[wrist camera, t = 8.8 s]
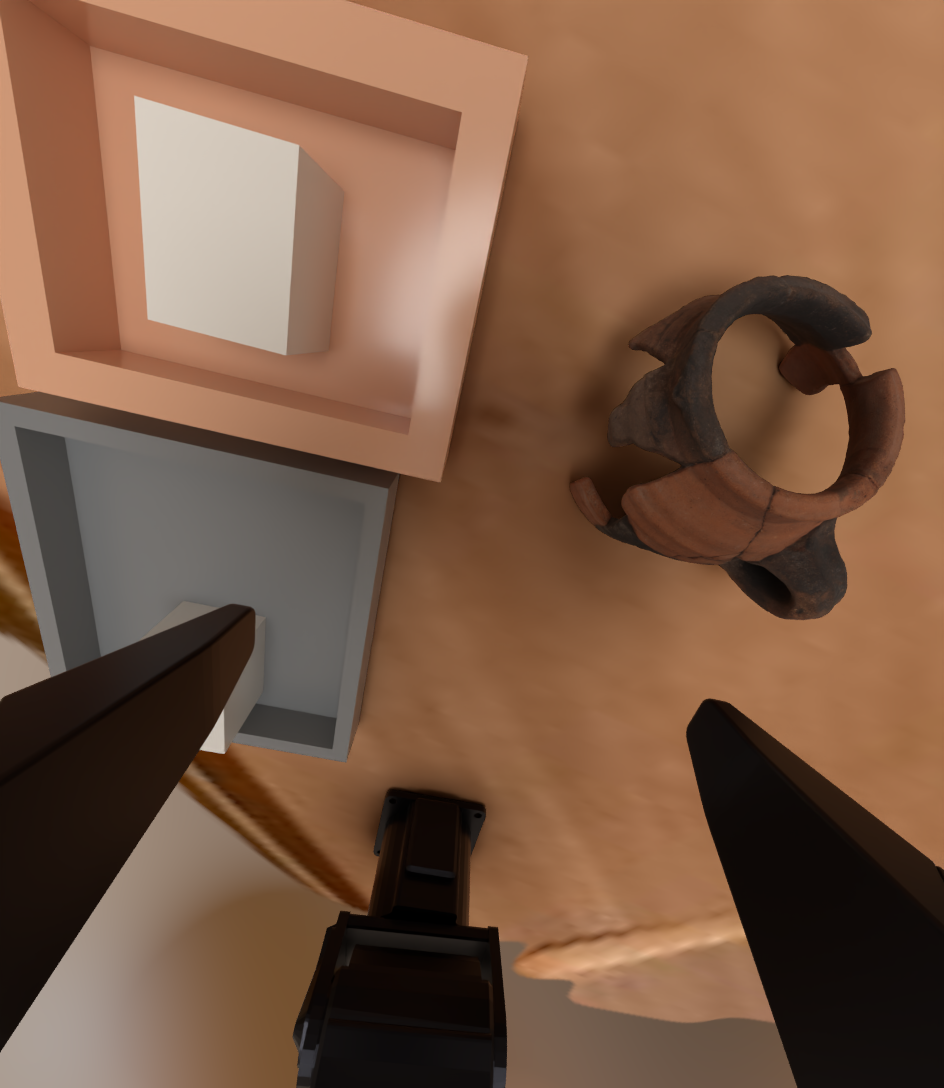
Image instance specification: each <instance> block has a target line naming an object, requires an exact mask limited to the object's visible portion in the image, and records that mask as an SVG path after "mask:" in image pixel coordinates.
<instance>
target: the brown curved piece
mask: <svg viewBox="0 0 944 1088" xmlns="http://www.w3.org/2000/svg"><path fill="white" fill-rule="evenodd" d="M749 314H762V315H764V316H767V317H768V318H769V319H771V320H772V321H774V322H775V323H776V324H777V325H778V326H779V327H780V328H781V329H782V331H783V332H784V333H786V334H787V336H788V337H789V339H790V340H791V341H792V342H793V343H794V344H795V345H794V346H793V347H792V348H791V349H790V350H789V352H788V353H787V355H786V357H785V358H784V360H783V361H782V362H781V364H780V366H779V370H780V371H781V373H782V375H783V376H784V377H785V378H786V379H787V380H788V381H789V383H790V384H792V385H793V386H795V387H796V388H797V389H798V390H799V391H801V392H802V393H804V394H806V395H813V394H817V393H819V392H821V391H822V390H824V389H825V388H826V387H827V386H828V385H834V384H839V385H840V389H841V391H842V394H843V396H844V400H845V404H846V409H847V414H848V423H849V442H848V448H847V452H846V458H845V462H844V465H843V469H842V471H841V474H840V476H839V477H838V479H837V481H836V482H835V483H834V484H833V485H831V486H830V487H829V488H827V489H826V490H824V491H822V492H819V493H815V494H801V493H794V492H790V491H787V490H784V489H781V488H779V487H776V486H772V485H771V484H770V483H769V482H767V481H766V480H764V479H762V478H761V477H759V476H758V475H757V474H756V473H755V472H753V471H752V470H751V469H750V468H749V467H748V466H747V465H746V464H745V463H744V462H743V461H742V460H741V459H740V458H739V456H738V455H737V454H736V453H735V452H734V451H733V450H731V449H730V448H729V446H728V444H727V440H726V438H725V436H724V433H723V431H722V429H721V427H720V424H719V421H718V419H717V416H716V413H715V410H714V405H713V399H712V378H711V375H712V366H713V359H714V355H715V353H716V348H717V343H718V341H719V340H720V339H721V337H722V336H723V334H724V332H725V331H726V329H727V328H728V327H729V326H730V325H731V324H732V323H733V322H734V321H735V320H736V319H738V318H740V317H742V316H745V315H749ZM871 335H872V331H871V329H870V323H869V318H868V316H867V314H866V313H865V311H863V310H862V309H861V308H860V307H858V306H857V305H856V303H855V302H853V301H852V300H850V299H849V298H848V297H847V296H846V295H844V294H841V293H839V292H838V291H837V290H835V289H833V288H832V287H830V286H828V285H826V284H823V283H821V282H818V281H816V280H812V279H810V278H808V277H800V276H789V275H786V276H781V277H780V278H779V277H777V276H767V277H756V278H753V279H752V280H750V281H747V282H743V283H741V284H739V285H736V286H734V287H732V288H731V289H729V290H727V291H726V292H724V293H723V294H722V295H711V296H704V297H702V298H699V299H696V300H694V301H692V302H690V303H689V304H687V305H686V306H683V307H682V308H681V309H680V310H678V311H676V312H675V313H673V314H671V315H670V316H668V317H666V318H664V319H663V320H661V321H659V322H658V323H656V324H654V325H653V326H650V327H648V328H647V329H645V330H644V331H642V332H641V333H640V334H638V335H637V336H636V337H634V338H633V339H632V340H630V342H629V344H628V345H629V348H631V349H632V350H642V351H645V352H648V353H649V354H650V355H652V356H653V357H655V358H657V359H658V360H659V361H662V362H663V363H664V364H665V365H664V366H662V367H660V368H658V369H655V370H653V371H651V372H649V373H647V374H645V375H644V377H643V378H642V379H640V380H639V381H638V382H637V383H636V384H635V385H634V386H633V387H632V389H631V390H630V392H629V394H628V396H627V397H626V399H625V401H624V402H623V403H622V404H620V405H619V406H618V407H616V408H615V409H614V410H613V411H612V412H611V414H610V417H609V423H608V436H607V437H608V442H609V444H610V445H611V446H612V447H620V446H625V445H630V444H635V445H636V446H638V447H639V448H641V449H644V450H646V451H650V452H654V453H658V454H660V455H662V456H665V457H667V458H668V459H670V460H673V461H675V462H678V463H679V464H681V465H682V466H681V467H680V468H679V469H677V470H676V471H674V472H672V473H670V474H667V475H665V476H663V477H661V478H658V479H656V480H654V481H650V482H648V483H642V484H636V485H634V486H632V487H630V488H628V489H627V492H626V493H625V494H624V495H623V497H622V501H621V506H622V508H623V509H624V511H625V513H626V514H627V515H625V516H623V517H622V518H620V519H617V518H613V517H612V516H611V514H610V513H609V511H608V510H607V508H606V507H605V505H604V504H603V502H602V500H601V499H600V497H599V495H598V493H597V491H596V489H595V487H594V485H593V482H592V480H591V479H590V478H588V477H584V478H581V479H579V480H577V481H576V482H572V483H571V484H570V491H571V493H572V495H573V498H574V500H575V502H576V504H577V505H578V507H579V508H580V510H581V511H582V513H583V514H584V515H585V516H586V517H587V519H588V520H589V521H590V522H591V523H592V524H594V525H595V527H596V528H597V529H599V530H600V531H601V532H603V533H604V534H606V535H608V536H610V537H612V538H614V539H616V540H619V541H621V542H624V543H628V544H631V545H635V546H637V547H639V548H641V549H645V550H649V551H652V552H654V553H656V554H659V555H662V556H666V557H669V558H672V559H676V560H680V561H686V562H690V563H697V564H706V565H714V564H718V565H719V566H721V567H722V568H723V569H724V570H725V571H726V572H727V573H728V575H729V576H730V577H731V579H732V580H733V581H734V582H735V583H736V584H737V585H738V587H739V588H740V589H741V590H742V591H743V592H744V593H745V594H746V595H747V596H748V597H749V598H751V599H752V600H753V601H754V602H755V603H757V604H758V605H759V606H760V607H762V608H763V609H765V610H766V611H768V612H770V613H771V614H773V615H775V616H777V617H779V618H783V619H794V620H807V619H816V618H820V617H823V616H824V615H826V614H828V613H829V612H830V611H831V610H832V608H833V607H834V605H836V604H837V603H838V602H840V600H841V599H842V598H843V597H844V595H845V593H846V589H847V572H846V567H845V563H844V562H843V560H842V558H841V556H840V553H839V550H838V547H837V545H836V542H835V536H834V530H835V523H836V520H837V517H840V516H842V515H844V514H846V513H849V512H851V511H853V510H855V509H857V508H858V507H860V506H862V505H863V504H864V503H865V502H867V501H868V500H869V499H871V498H872V497H873V496H874V495H875V494H876V493H877V491H878V489H879V488H880V487H881V486H882V485H883V484H884V482H885V481H886V479H887V477H888V476H889V475H890V473H891V471H892V468H893V466H894V464H895V461H896V459H897V457H898V455H899V452H900V449H901V444H902V440H903V438H904V433H903V427H904V423H905V402H904V392H903V386H902V382H901V379H900V377H899V374H898V372H897V370H896V369H895V368H891V369H887V370H883V371H879V372H876V373H873V374H872V375H869V376H862V374H861V373H860V371H859V368H858V366H857V364H856V362H855V360H854V359H853V357H852V356H851V354H850V353H849V352H848V351H847V350H846V348H845V347H851V346H854V345H858V344H861V343H864V342H866V341H867V340H868V339H869V338H870V336H871Z"/></svg>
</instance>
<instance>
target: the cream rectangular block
mask: <svg viewBox="0 0 944 1088" xmlns="http://www.w3.org/2000/svg"><path fill="white" fill-rule="evenodd" d="M134 103H135V119H136V136H137V152H138V168H139V185H140V201H141V217H142V234H143V250H144V267H145V283H146V299H147V316H148V320H152V321H156V322H160V323H163V324H167V325H171V326H175V327H179V328H183V329H186V330H190V331H194V332H198V333H202V334H206V335H209V336H213V337H217V338H221V339H225V340H229V341H232V342H236V343H240V344H244V345H248V346H252V347H256V348H259V349H263V350H267V351H271V352H275V353H279V354H282V355H295V354H305V353H314V352H323V351H329V342H330V332H331V322H332V312H333V301H334V291H335V281H336V271H337V261H338V251H339V241H340V231H341V221H342V210H343V200H344V191H343V190H342V189H341V187H340V186H339V185H338V184H337V183H336V182H335V181H334V180H333V179H332V178H331V177H330V176H329V175H328V174H327V173H326V172H325V171H324V170H323V169H322V168H321V167H320V166H319V165H318V164H317V163H316V162H315V161H314V160H313V159H312V158H311V157H310V156H309V155H308V154H307V153H306V152H305V151H304V150H303V149H302V147H301V146H300V145H297V144H294V143H291V142H287V141H284V140H281V139H277V138H274V137H271V136H267V135H264V134H261V133H257V132H254V131H251V130H247V129H244V128H241V127H237V126H234V125H231V124H227V123H224V122H221V121H217V120H214V119H211V118H207V117H204V116H201V115H197V114H194V113H191V112H187V111H184V110H181V109H177V108H174V107H171V106H167V105H164V104H161V103H157V102H154V101H151V100H147V99H144V98H141V97H137V96H134Z"/></svg>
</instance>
